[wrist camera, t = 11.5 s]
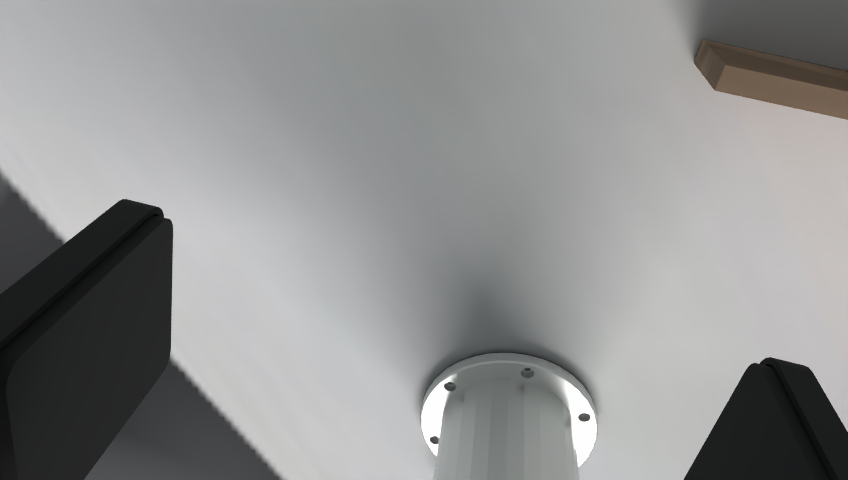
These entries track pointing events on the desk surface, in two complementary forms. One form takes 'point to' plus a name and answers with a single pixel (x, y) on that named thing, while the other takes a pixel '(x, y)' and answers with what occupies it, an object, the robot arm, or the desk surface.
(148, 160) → the desk surface
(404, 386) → the desk surface
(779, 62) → the brown open frame
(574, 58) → the desk surface
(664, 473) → the desk surface
